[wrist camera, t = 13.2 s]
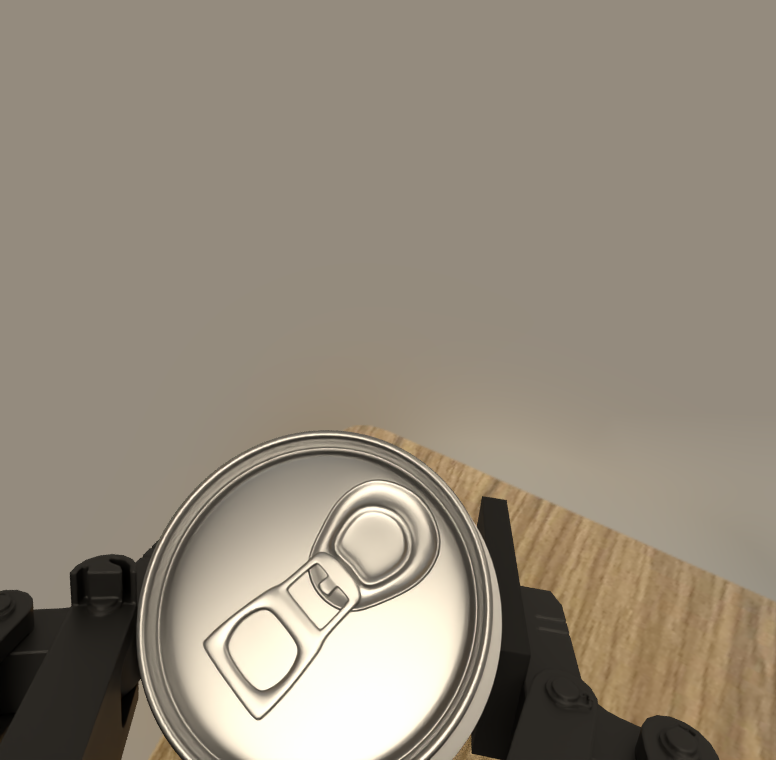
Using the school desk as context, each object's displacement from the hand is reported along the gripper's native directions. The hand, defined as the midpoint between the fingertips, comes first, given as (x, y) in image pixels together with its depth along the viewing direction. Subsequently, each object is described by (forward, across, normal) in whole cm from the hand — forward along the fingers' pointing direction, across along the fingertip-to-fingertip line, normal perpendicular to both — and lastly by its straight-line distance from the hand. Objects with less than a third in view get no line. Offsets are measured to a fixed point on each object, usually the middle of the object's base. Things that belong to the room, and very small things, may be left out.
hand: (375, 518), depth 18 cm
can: (0, 0, -5) cm, 5 cm away
